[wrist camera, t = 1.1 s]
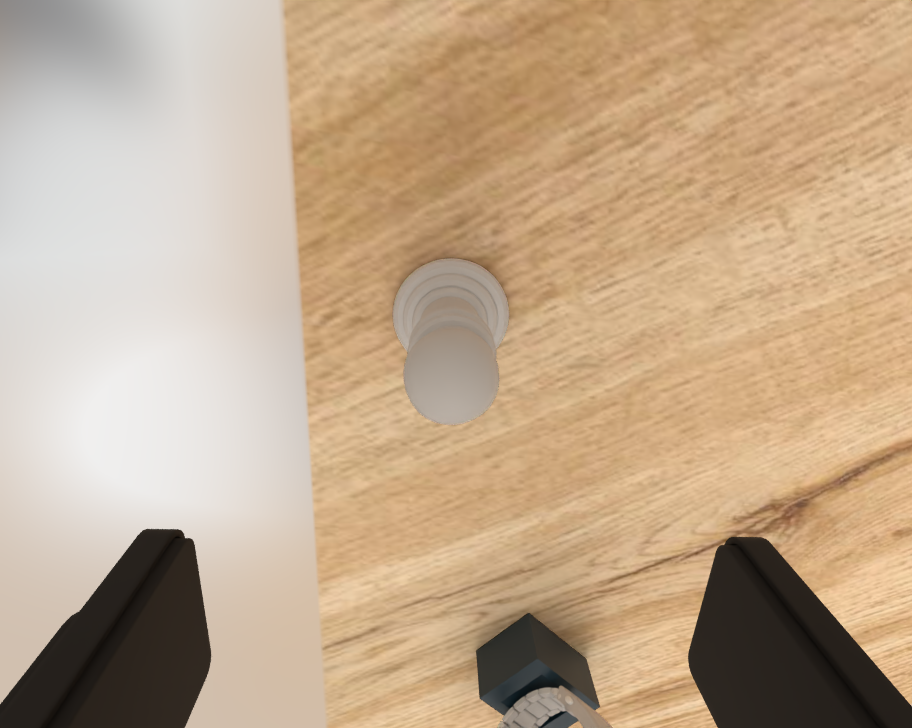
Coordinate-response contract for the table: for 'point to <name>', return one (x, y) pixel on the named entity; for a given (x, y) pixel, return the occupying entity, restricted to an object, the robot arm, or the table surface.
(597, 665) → the table surface
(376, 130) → the table surface
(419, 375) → the chess piece
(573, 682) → the watch
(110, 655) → the robot arm
